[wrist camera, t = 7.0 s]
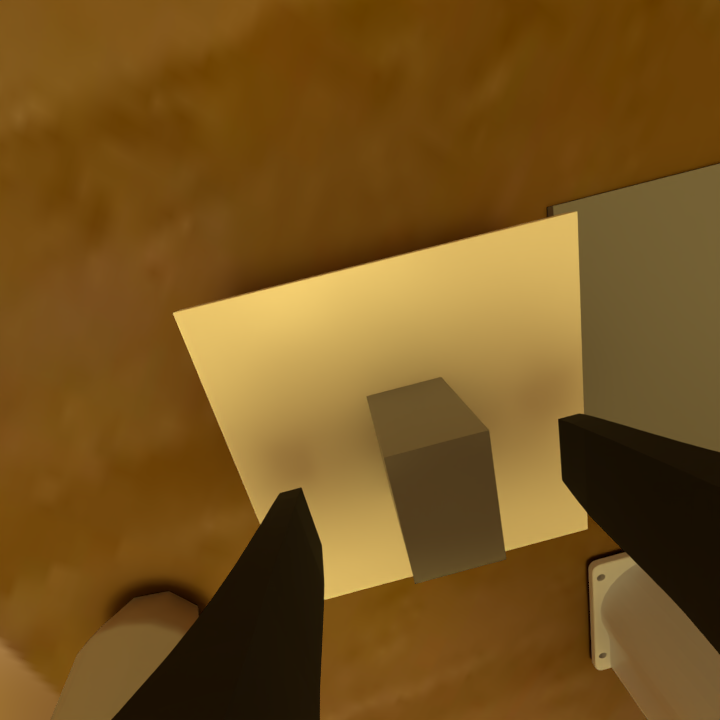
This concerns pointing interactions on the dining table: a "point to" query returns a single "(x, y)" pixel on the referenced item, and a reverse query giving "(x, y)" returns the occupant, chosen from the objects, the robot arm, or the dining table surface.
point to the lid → (407, 400)
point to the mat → (652, 305)
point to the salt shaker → (123, 656)
